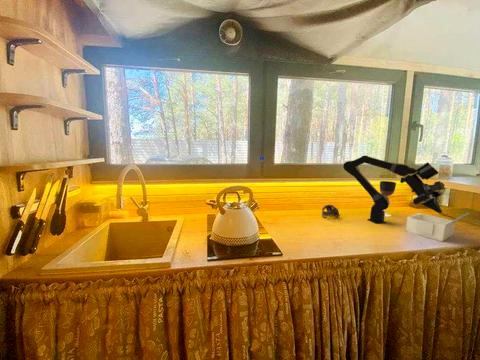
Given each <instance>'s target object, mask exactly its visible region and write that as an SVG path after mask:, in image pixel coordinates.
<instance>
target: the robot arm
mask: <svg viewBox="0 0 480 360" xmlns="http://www.w3.org/2000/svg"><path fill="white" fill-rule="evenodd" d="M363 164H368V165H371V166H375V167H378V168H382V169H385V170H388V171H390V172H392V173H393V174H396V175H398V176H400V183H401V184H404V183H406V185H408V187H409V188H410V189H411V193H414V194H415V195H416V197H414V198H413V199H412V202H413V204H414V205H415V206H417V205H419V204H420V203H421V205H422V206H424V207H426V208H428V209H430V210H433V211H434V212H435V213H438V214H442V213H443V210H442V208H441V206H440V203H439V197H440V196H442V195H443V192H441V191H442V190H445V189H446V188H445V184H444V182H441V181H435V182H434V183H433V184H428V183H424V181H423V180H426V181H427V180H429V179H431V178H432V177H436V176H437V175H438V174H439V171H437V169H436V168H435V167H433V166H432V164H430V163H429V162H425V163H424V164H423V165H422V166H420V167H418V168H415V167H410V166H409V165H408V164H406V163H397V162H389V161H386V160H384V159H378V158H375V157H373V156H369V155H366V154H365V155H362V156H361V157H358V158H356V159H354V160H348V161H347V160H346V161H345V162H344V163H343V165H342V167H343V169H344V170H345V171H346V172H347V173H348V174H349V175H350V176H353V177H354V178H355V180H356V181H357V182H358V183H359V185H360V186H362V187H363V189H364V190H365V192H366V193H367V194H368V195H369V196H370V197H371V199H372V201H373V205H372V206H371V209H370V216H369V218H367V221H369V222H372V223H375V224H386V223H387V222H386V221H385V217H386V216H385V213H386V210H387V209H388V208H389V206H390V205H391V204H390V203H391V202H390V200H389V199H390V198H389V196H387V197H386V195H385V194H384V193H383V194H381V192H380V191H378V190H377V189H376V187H374V185H372V184H371V182H370V181H369V179H367V178H366V176H364V175H363V173H362V172H361V170H360V168H359V166H361V165H363ZM384 210H385V211H384Z"/></svg>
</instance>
